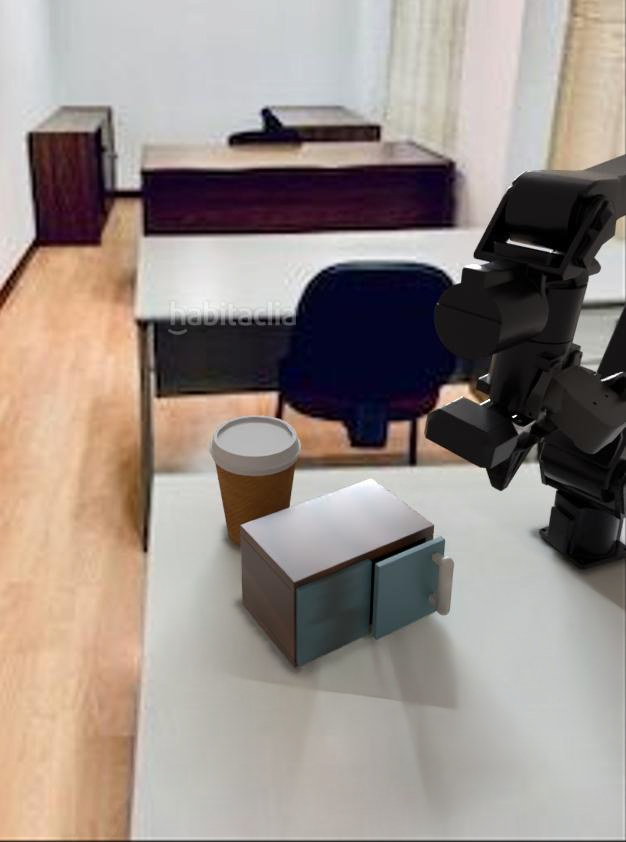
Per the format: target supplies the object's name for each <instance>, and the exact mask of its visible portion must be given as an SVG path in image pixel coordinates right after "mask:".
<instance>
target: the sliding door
mask: <svg viewBox="0 0 626 842" xmlns="http://www.w3.org/2000/svg"><path fill="white" fill-rule="evenodd" d="M445 551H446V538H444V536H441V535H440V536H437V537H435V538H433V540H430V541H428V542H426V543H423V544H421V545H418V546H416V547H414V548H411V549H409V550H407V551H404V552H402V553H399V554H397V555H395V556H392V557H390V558H388V559H385V560H383V561H380V562H378V563H376V564H375V578H374V600H373V622H372V632H371V637H372V638H373V639H374V640H375V641H378V640H379V639H381V638H384V637H386V636H388V635H390V634H392V633H394V632H396V631H398V630H400V629H402V628H405V627H406V626H409V625H411V624H413V623H415V622H417V621H419V620H421V619H423V618H426V617H428V616H429V615H432V614H434V613H436V612H437V613H438V615H440V616H447V615H448V614H449V613H450V611H451V603H452V602H451V601H452V590H453V581H454V570H455V569H454V568H455V561H454V559H453V558H452V557H451V556H448V555H447V556H445Z"/></svg>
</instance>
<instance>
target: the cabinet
mask: <svg viewBox="0 0 626 842" xmlns="http://www.w3.org/2000/svg"><path fill="white" fill-rule="evenodd" d="M434 534H435V524H434V523H432V522H431V521H430V520H429V519H427V518H426V517H424V516H423V515H422V514H420V513H419V512H418V511H416V510H415V509H414V508H412V507H411V506H410V505H408V504H407V503H405V502H404V501H403V500H401V499H400V498H399V497H397V495H395V494H393V492H391V491H390V490H388V489H387V488H385V487H384V486H383V485H382V484H380V483H379V482H377V481H376V480H375V479H374V478H367V479H364V480H362V481H358V482H356V483H354V484H351V485H348V486H346V487H343V488H340V489H337V490H334V491H331V492H329V493H328V492H327V493H325V494H322V495H320V496H318V497H317V496H316V497H314V498H312V499H309V500H306V501H303V502H301V503H298V504H295V505H293V506H290V507H289V508H286V509H284V510H281V511H278V512H275V513H272V514H270V515H267V516H264V517H261V518H258V519H256V520H253V521H250V522H247V523H245V524H242V525H240V541H241V547H240V568H241V569H240V570H241V604H242V606H243V607H244V609H246V611H247V612H248V613H249V614H250V616H251V617H252V618H253V619H254V621H255V622H256V623H257V624H258V626H259V627H260V628H261V630H262V631H263V632H264V633H265V634H266V636H267V637H268V638H269V639H270V641H271V642H272V643H273V645H275V647H276V648H277V649H278V651H279V652H280V653H281V654H282V656H283V657H284V658H285V659H286V660H287V661H288V663H289V664H290V665H291V666H292V668H293V669H296V668H298V667H299V668H301V667H303V666H305V665H307V664H309V663H312V662H313V661H315V660H318V659H320V658H322V657H324V656H326V655H329V654H331V653H333V652H335V651H337V650H338V649H341V648H344V647H345V646H347V645H349V644H351V643H354V642H355V641H358V640H360V639H362V638H364V637H367V636H368V635H369V634H370V633H372V622H373V600H374V578H375V564H376V563H378V562H380V561H383V560H385V559H388V558H390V557H392V556H395V555H397V554H399V553H402V552H404V551H407V550H409V549H411V548H414V547H416V546H418V545H421V544H423V543H426V542H428V541H430V540H433V539H434V536H435V535H434Z"/></svg>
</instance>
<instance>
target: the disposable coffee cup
mask: <svg viewBox="0 0 626 842" xmlns="http://www.w3.org/2000/svg"><path fill="white" fill-rule="evenodd" d="M208 448H209V453H210V456H211V458H212V460H213V461H214V464H215V469H216V475H217V480H218V486H219V491H220V498H221V502H222V507H223V513H224V518H225V524H226V529H227V536H228V538H229V540H230V541H231V543H232V544H233V545H235V546H237V547H239V548H241V541H240V525H242V524H245V523H247V522H250V521H253V520H256V519H258V518H261V517H264V516H267V515H270V514H272V513H275V512H278V511H281V510H284V509H286V508H289V507H291V500H292V491H293V485H294V478H295V472H296V471H295V470H296V466H297V465H296V464H297V460H298V458H299V456H300V454H301V450H302V443H301V439H300V438H299V437H298V434H297V431H296V429H295V428H294V426H293V425H291V424H290V423H288V422H287V421H286V420H283V419H280V418H277V417H275V416H267V415H257V414H255V415H254V414H253V415H243V416H238V417H235V418H231V419H229V420H226V421H224V422H222V423H221V424H220V425H219V426H217V427H216V429H215V430H214V432H213V436H212V438H211V440H210V442H209V447H208Z"/></svg>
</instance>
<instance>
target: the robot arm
mask: <svg viewBox="0 0 626 842" xmlns="http://www.w3.org/2000/svg"><path fill="white" fill-rule="evenodd" d="M624 217H626V153H625V154H624V153H623V154H621V155H619V156H616V157H614V158H611V159H609V160H606V161H603V162H601V163H597V164H594V165H592V166H590V167H587V168H584V169H580V170H579V169H578V170H576V169H575V170H570V169H533V170H526V171H523V172H522V173H520V174H519V175H517V176H516V178H514V180H512V182H511V185H510V186H509V187H508V188H507V189H506V190H505V192H504V193H503V196H502V198H501V199H500V202H499V203H498V205H497V207H496V209H495V211H494V213H493V214H492V217H491V219H490V221H489V223H488V224H487V226H486V229H484V232H483V234H482V236H481V238H480V239H479V242H478V243H477V246H475V250H473V260H479V261H482V262H486V263H483V264H476V263H475V264H474V263H473V264H469V265H465V266H463V267H462V270H461V276H460V277H461V278H460V282H458V283H455V284H452V285H450V286H449V287H447V288H446V289H445V290H444V291H443V292H442V293H441V295H440V296H439V299H438V301H437V303H436V304H435V305H434V310H433V323H434V327H435V331H436V334H437V336H438V339H439V340H440V342H441V343H442V345H443V346H444V347H445V348H446V349H447V350H448V351H449V352H450V353H451V354H452V355H454V356H456V357H457V358H459V359H461V360H465V361H480V360H482V359H486V358H488V357H491V356H492V358H491V363H490V367H489V371H488V373H487V374H485V375H482V376H480V377H479V378H477V381H476V385H475V390H477V391H478V392H481V393H483V394H485V395H487V396H488V400H485V401H483V402H482V403H477V402H475V401H473V400H471V399H470V398H467V397H465V396H460V397H459V398H457V399H454V400H452V401H450V402H448V403H446V404H444V405H442V406H439V407H438V408H436V409H434V410H431V411H430V412H428V413H427V415H426V420H425V426H424V431H423V434H424V438H425V439H426V440H428V441H429V442H432V443H433V444H436V445H438V446H439V447H441V448H442V449H444V450H447V451H448V452H450V453H452V454H454V455H456V456H457V457H459V458H461V459H462V460H463V459H464V460H465V461H467V462H469V463H471V464H472V465H474V466H476V467H478V468H480V469H485V470H486V474H487V477H488V480H489V484H490V486H491V487H492V488H494V489H495V490H497V491H499V492H503V491H504V490H505V489H507V488H508V487H509V485H510V484H511V482H512V480H513V478H514V477H515V476H516V474H517V472H518V471H519V469H520V468H521V466H522V464H523V462H524V461H525V460H526V458H527V457H528V455H529V453H530V452H531V450H532V449H533V447H534V446H535V445H537V444H539V443H540V444H539V448H538V452H537V457H538V465H539V473H540V474H539V475H540V481H541V484H542V485H545V486H549V487H550V488H553V489H555V496H554V503H553V505H552V506H551V508H550V514H549V521H548V525H546V526H542V527H539V529H538V534H539V535H540V536H541V538H542V539H544V540H546V542H548V543H549V544H550V545H551V546H552V547H553V548H555V550H557V551H558V552H559V553H561V554H562V555H563V556H564V557H565V558H567V559H568V560H569V561H571V563H572V564H574V565H575V566H576V567H577V568H578V569H582V570H585V569H588V568H592V567H596V566H599V565H602V564H607V563H609V562H610V563H611V562H613V561H616V560H620V559H623V558H626V544H625V543H624V542H622V541H621V538H622V537H621V536H622V531H623V526H624V521H625V519H626V302H625V303H624V305H623V308H622V311H621V313H620V315H619V318H618V320H617V322H616V325H615V327H614V329H613V332H612V334H611V337H610V339H609V341H608V343H607V346H606V348H605V351H604V353H603V355H602V357H601V360H600V362H599V365H598V367H597V369H596V371H595V370H593V369H590V368H588V367H586V366H583V365H581V363H582V359H583V355H584V352H583V351H581V349H582V345H580V344H578V343H574V338H575V335H576V330H577V327H578V323H579V319H580V315H581V311H582V308H583V305H584V300H585V296H586V292H587V289H588V285H589V282H590V281H589V280H590V277H591V276H594V275H597V274H599V273H600V272H601V270H602V265H601V264H600V261H598V260H597V258H596V257H597V255H598V254H599V252H600V250H601V248H602V247H603V246H604V244H607V242H609V241H610V240H611V239H613V238H614V237H615V235H616V230H617V222H618V220H619V219H621V218H624ZM509 241H510V242H513V243H510V242H509ZM514 243H517V244H514ZM519 244H523V245H519ZM524 245H526V246H524ZM527 245H528V246H532V247H528V246H527ZM533 247H537V248H541V249H537V248H533ZM542 249H545V250H542ZM546 250H550V251H546Z"/></svg>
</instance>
